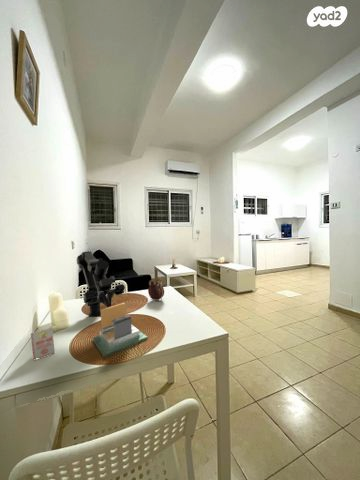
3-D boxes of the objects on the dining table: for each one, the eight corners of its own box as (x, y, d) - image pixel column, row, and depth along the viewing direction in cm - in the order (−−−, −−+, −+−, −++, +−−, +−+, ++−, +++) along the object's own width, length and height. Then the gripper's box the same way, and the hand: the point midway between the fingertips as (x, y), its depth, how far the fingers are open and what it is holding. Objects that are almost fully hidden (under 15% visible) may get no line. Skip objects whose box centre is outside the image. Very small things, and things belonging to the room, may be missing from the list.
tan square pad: (102, 329, 86) (100, 309, 85) (125, 321, 93) (124, 302, 92) (102, 330, 85) (101, 310, 84) (126, 322, 92) (125, 303, 91)
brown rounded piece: (165, 300, 129) (164, 277, 128) (160, 302, 125) (159, 279, 124) (152, 297, 135) (151, 276, 134) (147, 300, 131) (146, 278, 130)
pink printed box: (33, 356, 77) (31, 331, 76) (54, 349, 81) (51, 325, 80) (33, 360, 74) (30, 335, 73) (54, 353, 78) (52, 328, 77)
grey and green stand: (92, 340, 86) (90, 316, 85) (131, 325, 97) (129, 304, 96) (104, 358, 73) (102, 329, 73) (147, 339, 84) (145, 314, 84)
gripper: (82, 275, 89) (91, 305, 81) (122, 268, 101) (133, 294, 93) (80, 288, 96) (88, 317, 88) (117, 280, 108) (127, 306, 100)
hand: (110, 308), depth 92 cm, fingers closed
